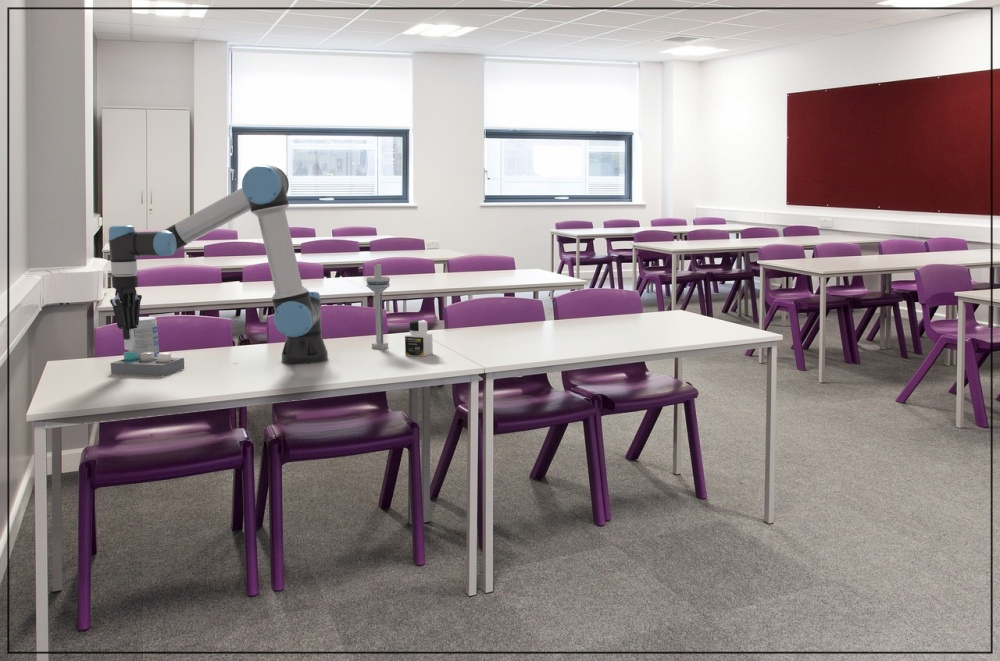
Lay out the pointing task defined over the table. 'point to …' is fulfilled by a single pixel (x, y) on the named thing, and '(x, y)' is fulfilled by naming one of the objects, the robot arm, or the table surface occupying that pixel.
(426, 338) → the medicine bottle
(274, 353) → the table surface
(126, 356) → the teal button
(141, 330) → the supplement tub
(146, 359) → the grey button
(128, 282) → the robot arm
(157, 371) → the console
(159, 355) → the ivory button
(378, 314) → the model tower
